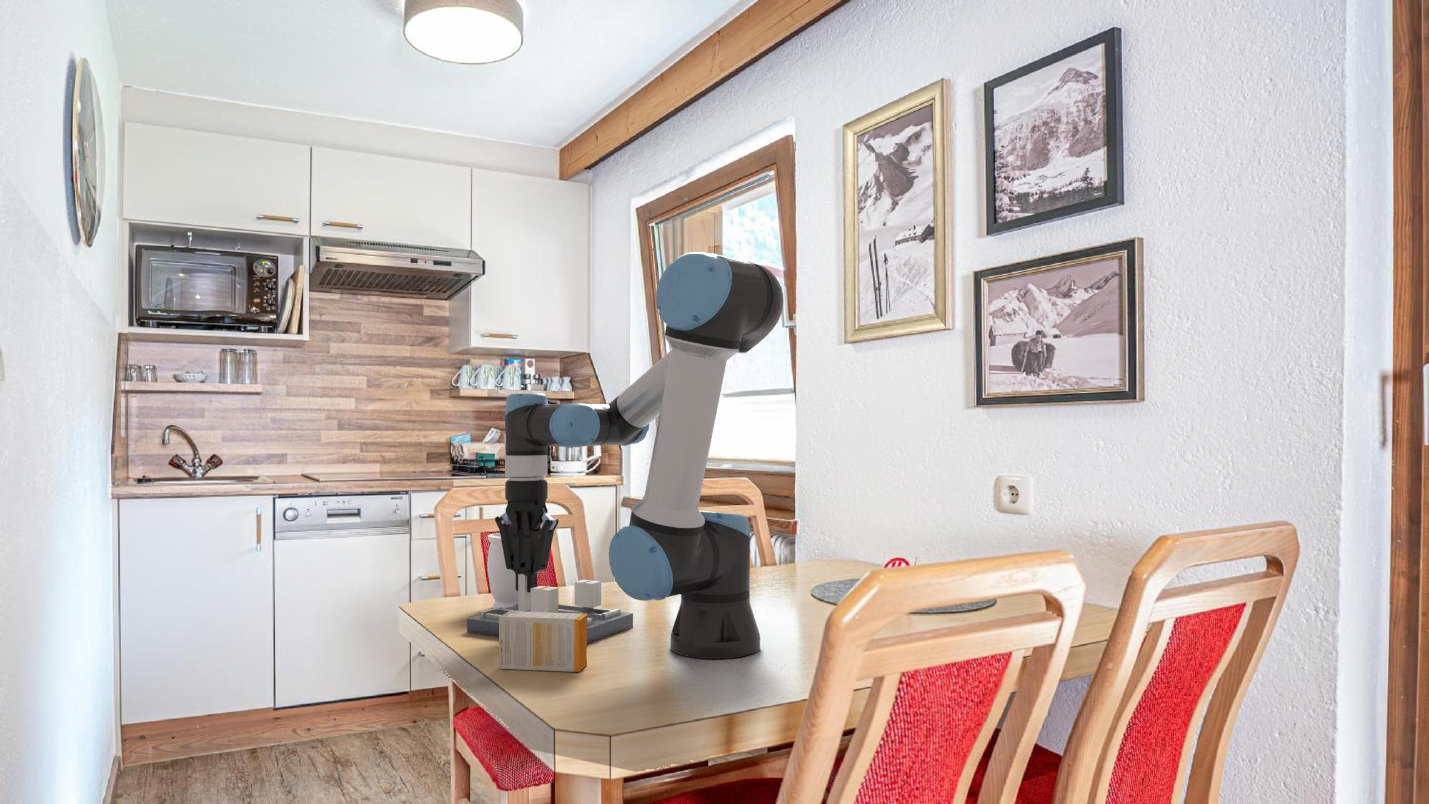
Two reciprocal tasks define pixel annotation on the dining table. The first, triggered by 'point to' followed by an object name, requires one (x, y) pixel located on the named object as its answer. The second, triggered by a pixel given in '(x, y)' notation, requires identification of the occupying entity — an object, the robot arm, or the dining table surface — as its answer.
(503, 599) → the jar
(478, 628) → the dark grey slotted tray
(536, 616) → the supplement box
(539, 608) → the fader
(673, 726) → the dining table surface
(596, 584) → the fader
